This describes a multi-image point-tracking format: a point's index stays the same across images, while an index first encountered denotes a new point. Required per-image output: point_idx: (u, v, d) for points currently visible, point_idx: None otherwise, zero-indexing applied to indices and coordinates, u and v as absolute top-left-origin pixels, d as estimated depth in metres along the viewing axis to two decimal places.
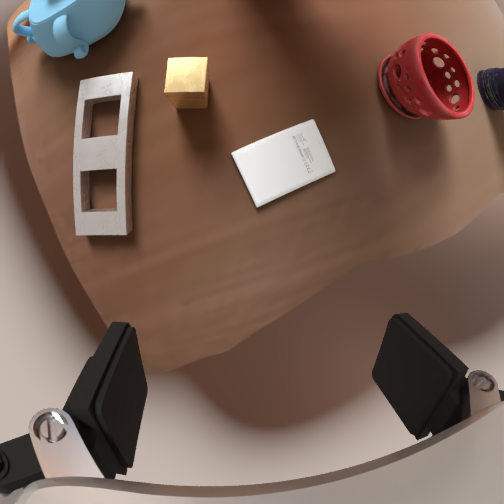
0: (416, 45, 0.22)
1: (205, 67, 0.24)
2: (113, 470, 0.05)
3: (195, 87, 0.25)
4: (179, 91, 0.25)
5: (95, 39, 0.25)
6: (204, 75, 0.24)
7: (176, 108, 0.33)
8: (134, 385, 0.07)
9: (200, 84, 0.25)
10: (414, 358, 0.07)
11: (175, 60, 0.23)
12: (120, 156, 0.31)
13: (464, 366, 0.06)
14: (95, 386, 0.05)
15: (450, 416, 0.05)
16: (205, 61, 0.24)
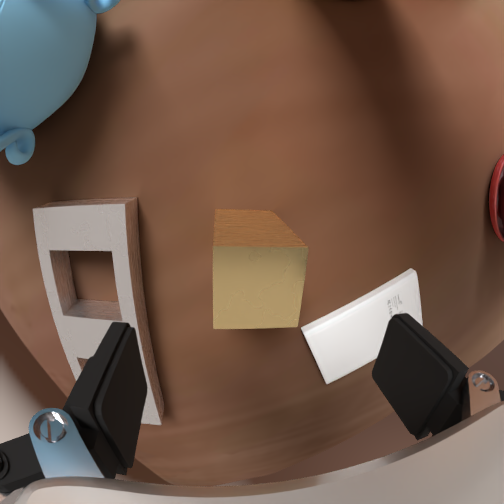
0: None
1: (302, 273, 0.13)
2: (113, 470, 0.05)
3: (280, 319, 0.13)
4: (247, 327, 0.13)
5: (43, 119, 0.13)
6: (300, 293, 0.13)
7: None
8: (134, 385, 0.07)
9: (290, 313, 0.13)
10: (414, 358, 0.07)
11: (232, 253, 0.12)
12: None
13: (464, 366, 0.06)
14: (95, 386, 0.05)
15: (450, 416, 0.05)
16: (303, 258, 0.13)
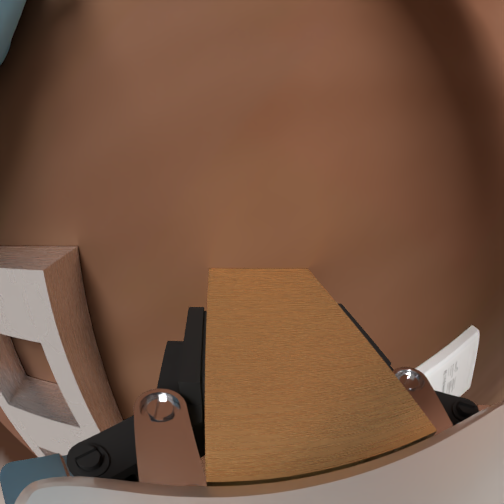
0: None
1: None
2: None
3: None
4: None
5: None
6: None
7: None
8: None
9: None
10: None
11: None
12: None
13: (386, 360, 0.07)
14: (197, 362, 0.07)
15: None
16: None
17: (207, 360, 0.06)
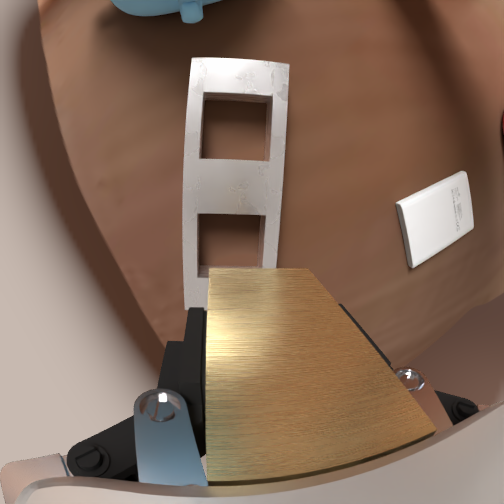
0: None
1: None
2: (205, 445, 0.06)
3: None
4: None
5: None
6: None
7: None
8: None
9: None
10: None
11: None
12: (273, 197, 0.22)
13: (386, 360, 0.07)
14: (197, 362, 0.07)
15: None
16: None
17: (208, 359, 0.06)
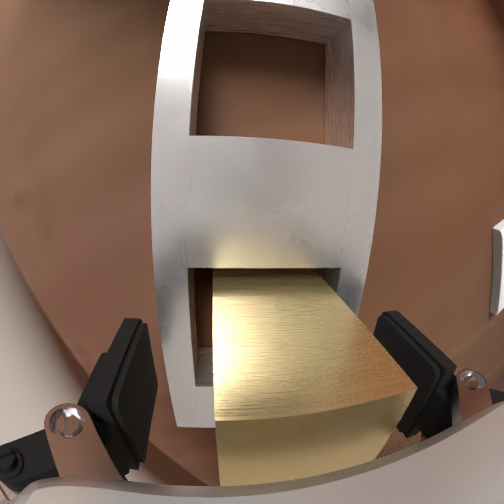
0: None
1: (393, 425, 0.05)
2: (127, 464, 0.05)
3: None
4: None
5: None
6: (379, 447, 0.05)
7: None
8: (146, 380, 0.08)
9: None
10: (402, 355, 0.08)
11: (262, 428, 0.04)
12: (358, 228, 0.10)
13: (452, 364, 0.06)
14: (111, 380, 0.05)
15: (438, 414, 0.06)
16: (403, 405, 0.05)
17: (214, 327, 0.07)
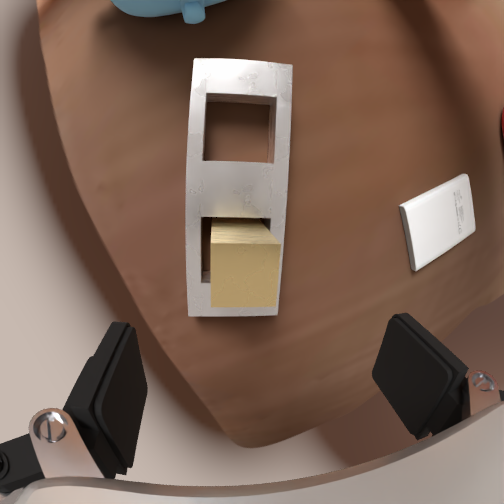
0: None
1: (277, 264, 0.17)
2: (113, 470, 0.05)
3: (261, 300, 0.18)
4: (236, 306, 0.18)
5: (217, 0, 0.16)
6: (276, 279, 0.17)
7: None
8: (134, 385, 0.07)
9: (269, 295, 0.18)
10: (414, 358, 0.07)
11: (224, 248, 0.16)
12: (278, 199, 0.22)
13: (464, 366, 0.06)
14: (95, 386, 0.05)
15: (450, 416, 0.05)
16: (277, 252, 0.17)
17: (211, 232, 0.19)
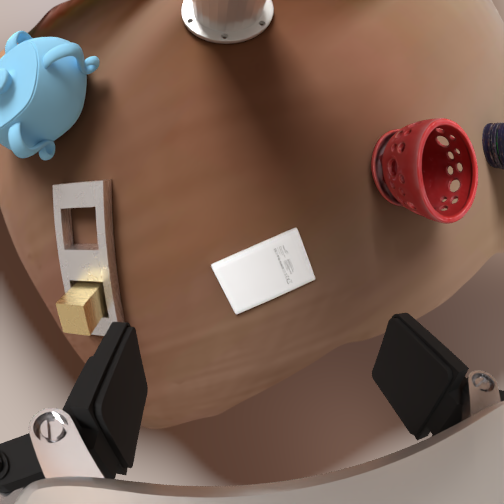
0: (418, 144, 0.24)
1: (84, 315, 0.28)
2: (113, 470, 0.05)
3: (82, 331, 0.29)
4: (73, 333, 0.29)
5: (60, 135, 0.27)
6: (86, 322, 0.28)
7: None
8: (134, 385, 0.07)
9: (85, 329, 0.29)
10: (414, 358, 0.07)
11: (61, 306, 0.27)
12: (104, 271, 0.33)
13: (464, 366, 0.06)
14: (95, 386, 0.05)
15: (450, 416, 0.05)
16: (82, 309, 0.28)
17: None
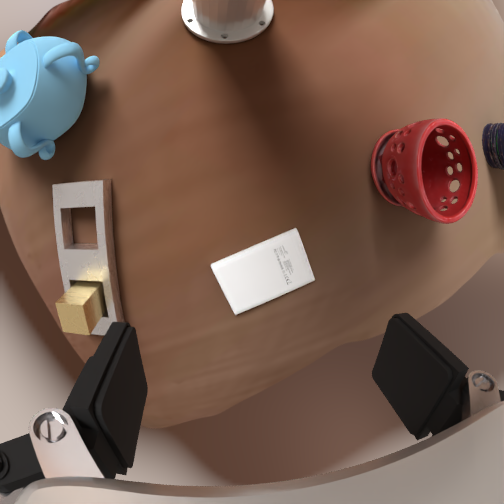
0: (418, 144, 0.24)
1: (84, 314, 0.28)
2: (113, 470, 0.05)
3: (82, 331, 0.29)
4: (73, 332, 0.29)
5: (60, 135, 0.27)
6: (85, 321, 0.28)
7: None
8: (134, 385, 0.07)
9: (85, 329, 0.29)
10: (414, 358, 0.07)
11: (61, 305, 0.27)
12: (104, 270, 0.33)
13: (464, 366, 0.06)
14: (95, 386, 0.05)
15: (450, 416, 0.05)
16: (82, 309, 0.28)
17: (66, 292, 0.30)
